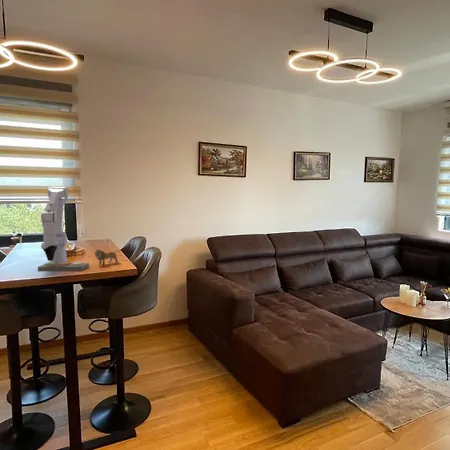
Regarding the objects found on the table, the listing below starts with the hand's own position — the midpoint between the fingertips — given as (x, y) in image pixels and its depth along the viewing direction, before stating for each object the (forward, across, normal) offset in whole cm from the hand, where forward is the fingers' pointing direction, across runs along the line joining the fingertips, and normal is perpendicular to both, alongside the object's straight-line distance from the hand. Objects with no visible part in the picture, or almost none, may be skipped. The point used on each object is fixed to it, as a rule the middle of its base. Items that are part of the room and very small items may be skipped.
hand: (50, 260), depth 176 cm
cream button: (+4, 0, +14) cm, 15 cm away
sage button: (+4, 0, 0) cm, 4 cm away
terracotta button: (+4, 0, +7) cm, 8 cm away
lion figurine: (+5, -12, +25) cm, 29 cm away
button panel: (+4, 0, +7) cm, 8 cm away
